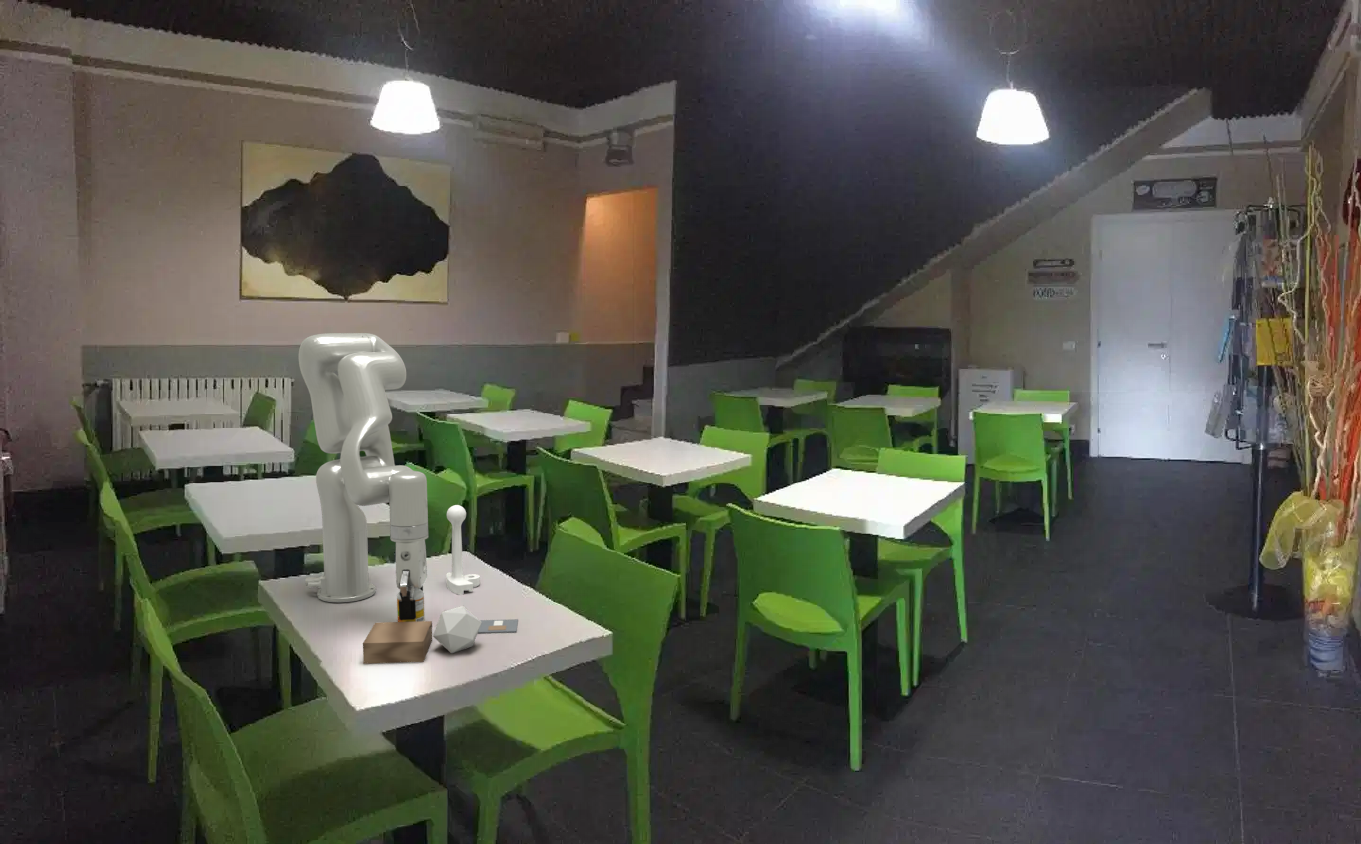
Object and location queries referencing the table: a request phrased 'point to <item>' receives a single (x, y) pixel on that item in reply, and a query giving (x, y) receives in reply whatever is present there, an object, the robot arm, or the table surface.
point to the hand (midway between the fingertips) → (411, 611)
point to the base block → (397, 642)
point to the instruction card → (498, 626)
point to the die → (457, 629)
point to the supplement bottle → (419, 606)
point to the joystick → (458, 555)
